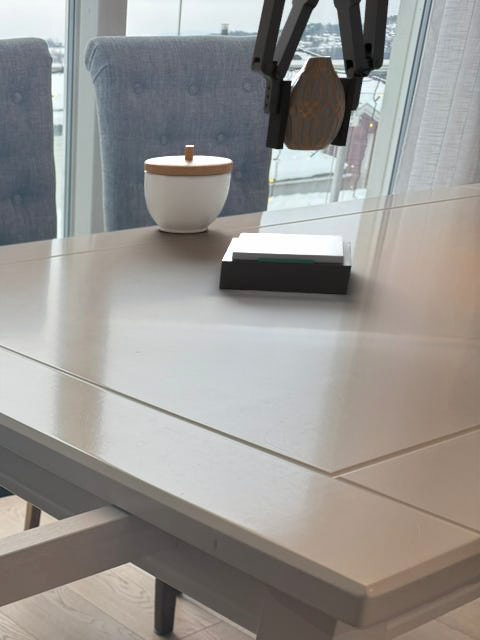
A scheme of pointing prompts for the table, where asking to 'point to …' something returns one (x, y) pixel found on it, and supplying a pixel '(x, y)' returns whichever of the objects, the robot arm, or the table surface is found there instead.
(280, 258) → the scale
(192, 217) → the lidded bowl
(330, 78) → the vase
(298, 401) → the table surface
